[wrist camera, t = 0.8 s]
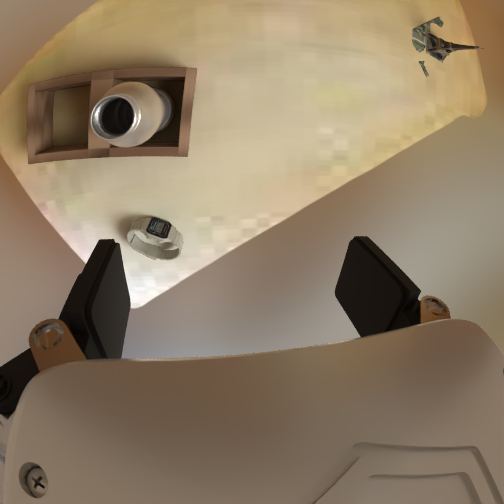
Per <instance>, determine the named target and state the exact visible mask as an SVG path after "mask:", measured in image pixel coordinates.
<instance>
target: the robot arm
mask: <svg viewBox="0 0 504 504" xmlns="http://www.w3.org/2000/svg"><path fill="white" fill-rule="evenodd" d="M420 292H421V290H420V289H419V288H418V287H417V286H416V285H415V284H414V283H413V282H412V281H411V280H410V278H409V277H408V276H407V275H406V274H405V273H404V272H403V271H402V270H401V269H400V268H399V267H398V266H397V265H396V264H395V263H394V262H393V261H392V260H391V259H390V258H389V257H388V256H387V255H386V254H385V253H384V252H383V251H382V250H381V249H380V248H379V247H378V246H377V245H376V244H375V243H374V242H373V241H372V240H371V239H370V238H369V237H367V236H365V237H364V236H356V237H354V238H353V240H351V241H350V243H349V246H348V249H347V253H346V256H345V259H344V263H343V266H342V269H341V272H340V276H339V279H338V282H337V285H336V288H335V296H336V298H337V299H338V301H339V303H340V304H341V306H342V307H343V309H344V311H345V312H346V314H347V315H348V317H349V319H350V320H351V322H352V323H353V325H354V327H355V328H356V330H357V331H358V333H359V335H360V336H361V337H360V338H355V339H349V340H344V341H338V342H333V343H327V344H321V345H315V346H308V347H301V348H294V349H287V350H278V351H269V352H260V353H251V354H239V355H226V356H211V357H191V358H157V359H156V358H149V359H147V358H145V359H143V358H141V359H121V356H122V349H123V343H124V338H125V332H126V327H127V321H128V316H129V311H130V296H129V291H128V287H127V282H126V277H125V272H124V266H123V261H122V255H121V249H120V244H119V243H115V241H114V239H101V240H99V241H98V243H97V245H96V246H95V248H94V250H93V252H92V254H91V256H90V258H89V260H88V262H87V263H86V266H85V267H84V270H83V272H82V273H81V274H79V276H78V277H77V279H76V281H75V283H74V285H73V287H72V289H71V292H70V294H69V296H68V298H67V300H66V303H65V305H64V307H63V309H62V312H61V314H60V316H59V319H47V320H44V321H42V322H40V323H39V324H37V325H36V326H35V327H34V328H33V329H32V331H31V333H30V335H29V346H30V348H29V349H27V350H26V351H24V352H23V353H21V354H20V355H18V356H17V357H15V358H13V359H12V360H10V361H9V362H7V363H6V364H4V365H3V366H1V367H0V504H504V354H503V353H502V351H501V350H500V349H499V348H498V346H497V345H496V344H495V342H493V340H492V339H491V338H490V337H489V336H488V334H487V333H486V332H485V331H484V330H483V329H482V328H481V327H480V326H479V325H477V324H476V323H474V322H471V321H467V320H462V319H451V317H450V311H449V308H448V307H447V305H446V304H445V303H444V302H443V301H441V300H440V299H438V298H436V297H433V296H428V295H427V296H424V297H422V298H421V300H420V301H419V300H418V296H419V294H420Z"/></svg>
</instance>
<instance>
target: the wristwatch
mask: <svg viewBox="0 0 504 504" xmlns="http://www.w3.org/2000/svg"><path fill="white" fill-rule="evenodd" d="M139 230H140V231H141V232H142V233H144V234H145V235H146V236H147V238H148V239H150V240H151V239H152V240H154V241H157V242H159V243H163V242H171V243H172V242H173V243H174V244H175V245H176V246H177V247H178V248H177V249H175V250H165V249H160V248H159V247H156V246H154V245H150V244H147V243H145V242H143V241H142V240H140V239H139V238H138V237H137V235H136V234H135V235H134V232H133V231H139ZM127 241H128V243H129V244H130V246H131V247H132V248H134V249H135V250H136V251H138V252H139V253H141V254H143V255H146V256H147V257H149V258H151V259H153V260H156V258H157V259H161V260H173V259H176V258H178V257H179V255H180V253H181V249H182V246H183V237H182V235H181V234H180V233H179V232H178V231H176V228H175V227H174V226H172V225H171V224H170V222H168V221H164V220H162V219H160V218H156V217H154V218H146V219H137V220H136V221H134V223H133V224H132V226H131V228H130V230H129V232H128V234H127Z"/></svg>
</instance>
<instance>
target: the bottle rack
mask: <svg viewBox="0 0 504 504" xmlns="http://www.w3.org/2000/svg"><path fill="white" fill-rule="evenodd" d="M196 75H197V68H187V67H147V68H128V69H115V70H106V71H97V72H90V73H83V74H77V75H71V76H66V77H60V78H56V79H51V80H47V81H42V82H38V83H34V84H31V85H29V91H28V108H27V148H28V164H34V163H42V162H51V161H61V160H72V159H85V158H102V157H128V156H178V157H188V150H189V138H190V127H191V117H192V107H193V99H194V90H195V82H196ZM157 80H173V81H185V86H184V94H183V103H182V113H181V124H180V135H179V141H145V142H144V143H142V144H139V145H137V146H133V147H119V146H115V145H113V144H110V143H108V142H107V141H106V140H104V139H101V138H100V137H98V136H97V135H96V134H95V133H94V132H93V130H92V128H91V124H90V116H91V112H92V110H93V108H94V106H95V105H96V104H97V103H98V102H99V101H100V99H101V98H102V96H103V95H104V94H105V93H106V92H107V91H108V90H109V89H111V88H113V87H114V86H116V85H118V84H121V83H124V82H129V81H157ZM88 85H91V91H90V104H89V127H88V143H85V144H74V145H64V146H55V147H53V142H52V121H53V98H54V91H57V90H62V89H68V88H74V87H80V86H88Z"/></svg>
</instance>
